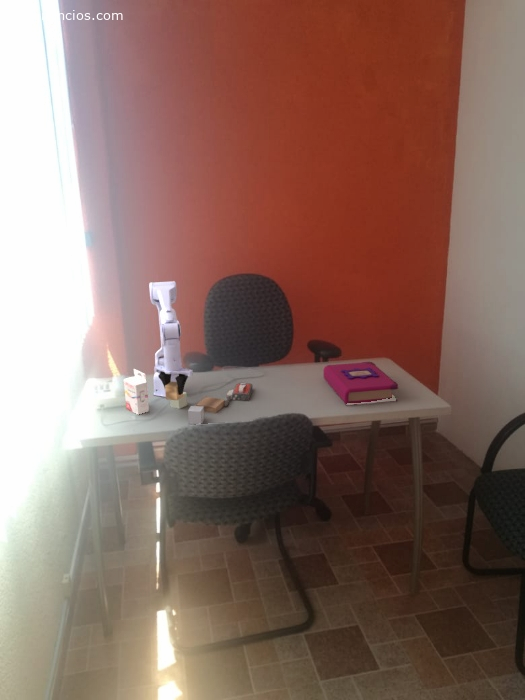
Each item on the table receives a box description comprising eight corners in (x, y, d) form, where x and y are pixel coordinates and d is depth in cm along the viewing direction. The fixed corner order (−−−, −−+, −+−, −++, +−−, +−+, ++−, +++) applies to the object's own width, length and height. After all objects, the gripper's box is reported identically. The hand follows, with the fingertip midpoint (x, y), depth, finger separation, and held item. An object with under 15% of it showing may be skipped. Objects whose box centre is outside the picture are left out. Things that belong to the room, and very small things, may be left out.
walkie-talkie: (231, 388, 224) (222, 408, 205) (231, 378, 222) (222, 397, 204) (253, 389, 223) (246, 409, 204) (253, 379, 221) (246, 398, 203)
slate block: (188, 424, 191) (187, 411, 190) (191, 418, 196) (191, 405, 194) (201, 424, 191) (200, 411, 189) (204, 419, 195) (203, 406, 194)
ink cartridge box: (125, 408, 204) (122, 371, 200) (137, 404, 208) (133, 367, 203) (138, 415, 199) (134, 377, 194) (149, 411, 202) (146, 373, 197)
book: (345, 407, 205) (345, 388, 203) (323, 380, 231) (323, 363, 229) (398, 402, 209) (399, 383, 206) (370, 377, 235) (371, 360, 233)
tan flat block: (196, 411, 203) (195, 404, 202) (206, 402, 210) (206, 396, 209) (215, 414, 200) (215, 407, 200) (225, 405, 207) (225, 399, 207)
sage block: (169, 406, 206) (169, 394, 205) (177, 402, 210) (177, 390, 208) (179, 409, 204) (178, 396, 202) (187, 405, 207) (186, 392, 206)
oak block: (165, 398, 196) (165, 385, 195) (172, 394, 200) (171, 381, 199) (177, 400, 195) (176, 387, 193) (183, 395, 199) (182, 382, 197)
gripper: (148, 357, 192) (150, 394, 196) (184, 362, 187) (186, 399, 191) (159, 351, 198) (161, 387, 202) (195, 356, 193) (196, 392, 197)
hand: (174, 392), depth 197 cm, fingers closed on oak block, 4 cm apart
